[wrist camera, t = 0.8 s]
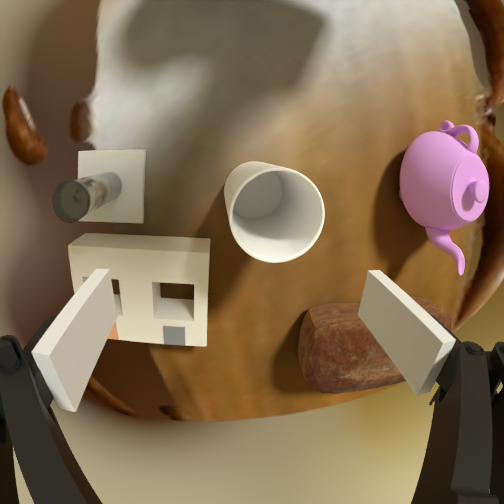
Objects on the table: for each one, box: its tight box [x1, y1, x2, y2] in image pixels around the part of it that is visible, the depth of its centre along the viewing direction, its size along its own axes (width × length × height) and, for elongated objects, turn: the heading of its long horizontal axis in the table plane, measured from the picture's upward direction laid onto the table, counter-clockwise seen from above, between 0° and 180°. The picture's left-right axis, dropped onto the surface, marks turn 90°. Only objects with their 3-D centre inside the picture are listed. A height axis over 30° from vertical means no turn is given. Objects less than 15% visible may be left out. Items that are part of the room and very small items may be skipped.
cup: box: [224, 161, 325, 263], centre depth 32 cm, size 8×8×16 cm
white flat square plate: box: [78, 149, 146, 223], centre depth 36 cm, size 10×10×1 cm
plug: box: [53, 172, 122, 223], centre depth 30 cm, size 4×4×12 cm
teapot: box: [399, 121, 489, 276], centre depth 35 cm, size 22×16×14 cm
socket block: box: [68, 233, 210, 346], centre depth 38 cm, size 14×19×6 cm
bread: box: [298, 297, 451, 394], centre depth 44 cm, size 14×28×12 cm, turn 87°
